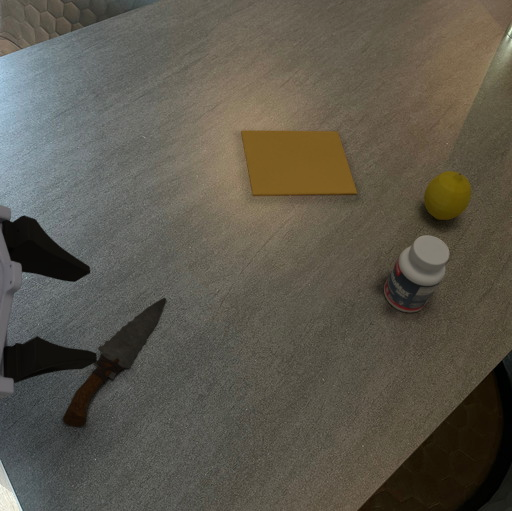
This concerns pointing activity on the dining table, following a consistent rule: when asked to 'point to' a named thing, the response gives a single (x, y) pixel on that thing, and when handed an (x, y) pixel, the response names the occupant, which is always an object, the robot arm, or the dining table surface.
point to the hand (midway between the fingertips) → (85, 316)
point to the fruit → (447, 195)
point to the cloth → (297, 163)
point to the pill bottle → (417, 274)
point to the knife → (114, 360)
